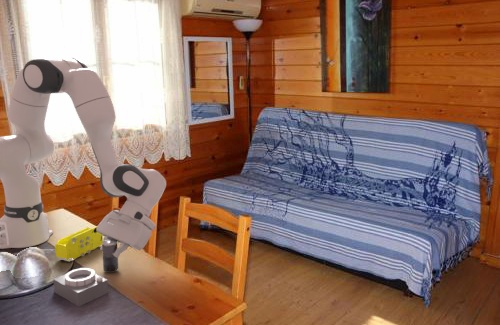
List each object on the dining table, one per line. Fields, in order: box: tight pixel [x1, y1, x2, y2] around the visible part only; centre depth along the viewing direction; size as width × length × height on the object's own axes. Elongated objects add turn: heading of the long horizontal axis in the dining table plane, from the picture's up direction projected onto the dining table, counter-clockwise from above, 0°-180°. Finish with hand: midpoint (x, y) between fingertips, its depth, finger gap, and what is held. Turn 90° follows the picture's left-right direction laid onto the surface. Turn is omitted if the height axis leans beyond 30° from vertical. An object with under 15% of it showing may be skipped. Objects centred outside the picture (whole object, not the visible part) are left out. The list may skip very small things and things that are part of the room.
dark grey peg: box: [101, 239, 119, 273], centre depth 127 cm, size 4×4×9 cm
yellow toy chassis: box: [54, 225, 104, 261], centre depth 140 cm, size 16×6×8 cm, turn 157°
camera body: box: [53, 267, 109, 307], centre depth 115 cm, size 12×9×6 cm
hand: (108, 253), depth 127 cm, fingers closed on dark grey peg, 4 cm apart
